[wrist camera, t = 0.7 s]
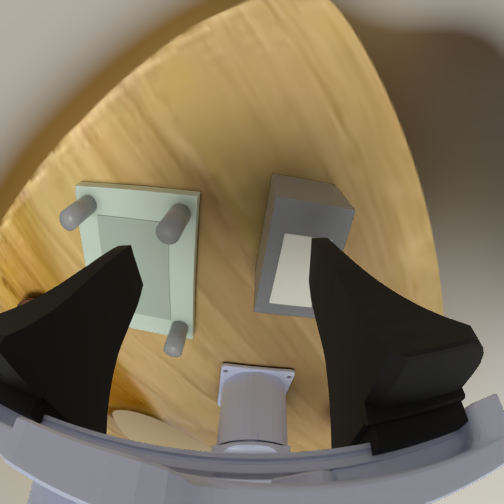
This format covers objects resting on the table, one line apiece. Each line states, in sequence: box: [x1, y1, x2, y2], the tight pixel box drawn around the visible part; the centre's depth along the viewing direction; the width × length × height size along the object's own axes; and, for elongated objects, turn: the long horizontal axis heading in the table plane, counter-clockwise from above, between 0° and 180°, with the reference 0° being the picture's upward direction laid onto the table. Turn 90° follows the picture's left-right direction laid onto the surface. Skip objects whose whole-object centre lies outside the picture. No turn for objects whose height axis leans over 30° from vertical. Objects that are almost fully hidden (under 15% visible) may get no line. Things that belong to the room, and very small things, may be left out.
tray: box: [60, 182, 200, 357], centre depth 21 cm, size 14×10×4 cm
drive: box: [254, 173, 355, 318], centre depth 19 cm, size 8×4×5 cm, turn 172°
